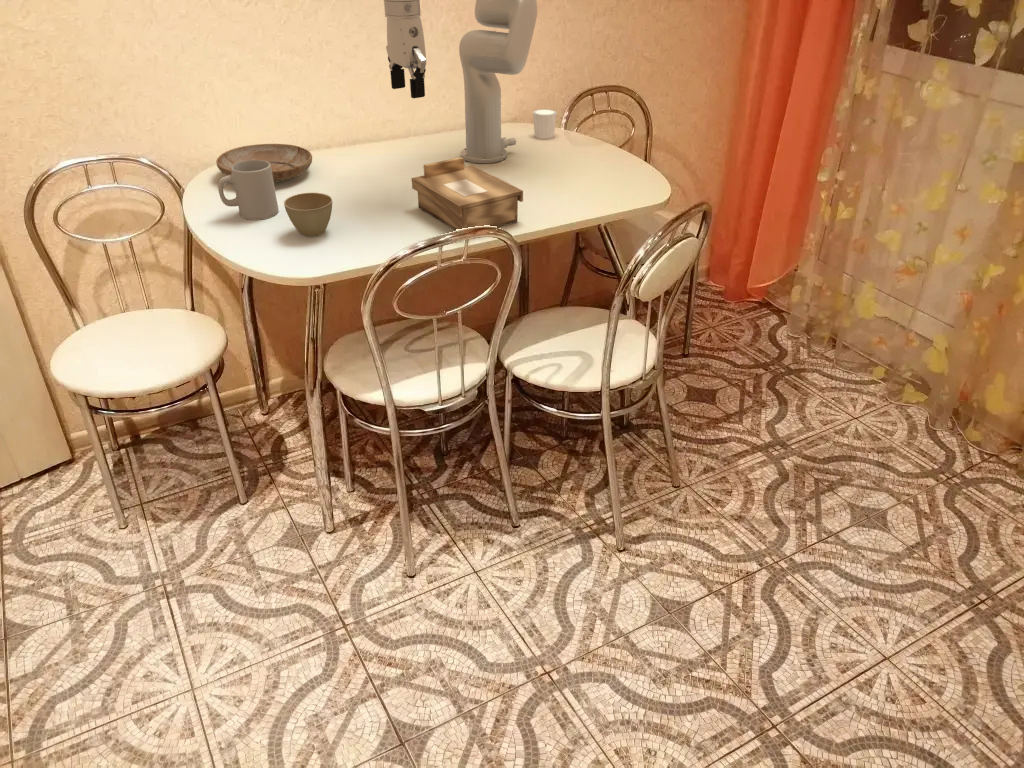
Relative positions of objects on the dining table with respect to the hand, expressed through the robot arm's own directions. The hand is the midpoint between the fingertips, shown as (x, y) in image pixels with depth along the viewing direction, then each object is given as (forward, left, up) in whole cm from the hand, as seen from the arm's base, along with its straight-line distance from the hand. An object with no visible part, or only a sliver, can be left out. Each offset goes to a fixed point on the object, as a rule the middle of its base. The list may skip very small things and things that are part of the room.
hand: (408, 92), depth 173 cm
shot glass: (-54, -21, -24) cm, 63 cm away
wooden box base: (-3, +18, -24) cm, 30 cm away
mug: (+37, -9, -24) cm, 45 cm away
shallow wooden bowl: (+25, -33, -24) cm, 47 cm away
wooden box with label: (-3, +18, -19) cm, 26 cm away
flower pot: (+30, +8, -24) cm, 39 cm away
